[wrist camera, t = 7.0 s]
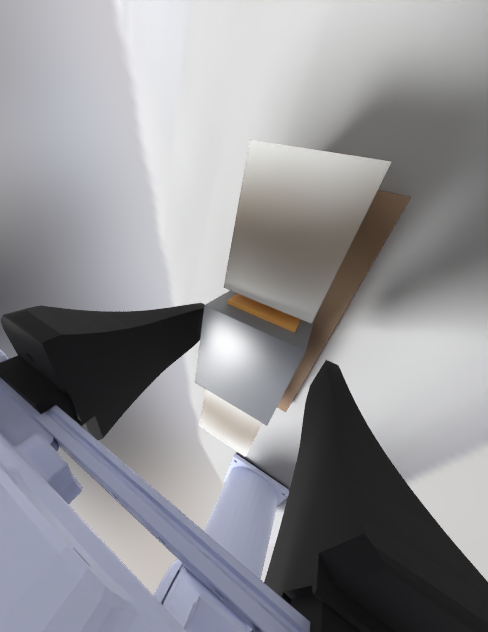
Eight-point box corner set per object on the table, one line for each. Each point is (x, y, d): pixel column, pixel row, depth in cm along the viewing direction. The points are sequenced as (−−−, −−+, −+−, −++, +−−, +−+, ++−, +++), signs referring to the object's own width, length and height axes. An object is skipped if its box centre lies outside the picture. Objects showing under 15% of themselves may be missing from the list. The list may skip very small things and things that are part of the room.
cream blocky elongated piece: (288, 403, 18) (267, 474, 13) (221, 366, 20) (180, 414, 15) (405, 199, 9) (488, 163, 4) (264, 171, 11) (202, 123, 6)
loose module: (290, 360, 14) (266, 425, 9) (238, 335, 15) (195, 382, 10) (320, 298, 11) (307, 347, 7) (254, 274, 12) (205, 301, 8)
